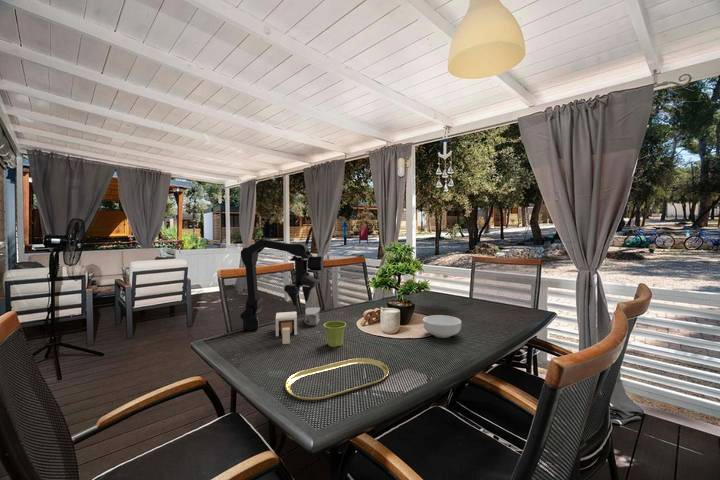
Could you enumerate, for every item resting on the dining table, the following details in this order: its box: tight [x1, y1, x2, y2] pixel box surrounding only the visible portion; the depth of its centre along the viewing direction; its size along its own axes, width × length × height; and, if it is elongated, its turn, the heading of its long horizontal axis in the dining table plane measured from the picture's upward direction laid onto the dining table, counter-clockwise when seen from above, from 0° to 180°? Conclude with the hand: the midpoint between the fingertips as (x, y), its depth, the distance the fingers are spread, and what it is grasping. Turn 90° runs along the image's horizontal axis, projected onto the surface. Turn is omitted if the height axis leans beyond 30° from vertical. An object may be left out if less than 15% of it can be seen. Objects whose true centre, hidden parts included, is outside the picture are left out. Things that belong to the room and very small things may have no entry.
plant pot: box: [323, 320, 347, 348], centre depth 132 cm, size 9×9×9 cm
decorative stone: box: [303, 307, 321, 327], centre depth 163 cm, size 15×7×10 cm
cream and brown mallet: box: [280, 320, 293, 345], centre depth 143 cm, size 5×18×6 cm, turn 12°
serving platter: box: [284, 357, 390, 401], centre depth 103 cm, size 19×35×2 cm, turn 120°
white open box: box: [275, 311, 298, 337], centre depth 149 cm, size 9×10×8 cm
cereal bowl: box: [422, 314, 462, 339], centre depth 144 cm, size 17×17×7 cm
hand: (301, 303), depth 148 cm, fingers open, 9 cm apart
